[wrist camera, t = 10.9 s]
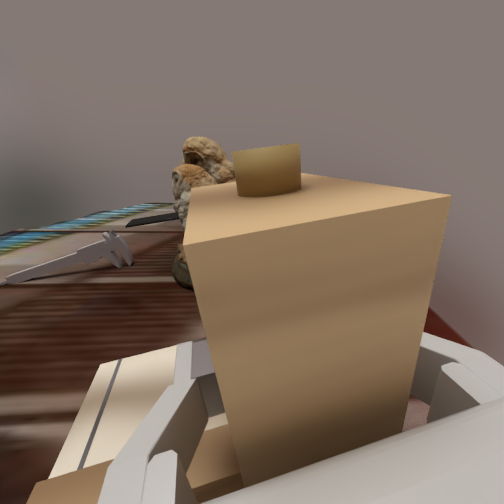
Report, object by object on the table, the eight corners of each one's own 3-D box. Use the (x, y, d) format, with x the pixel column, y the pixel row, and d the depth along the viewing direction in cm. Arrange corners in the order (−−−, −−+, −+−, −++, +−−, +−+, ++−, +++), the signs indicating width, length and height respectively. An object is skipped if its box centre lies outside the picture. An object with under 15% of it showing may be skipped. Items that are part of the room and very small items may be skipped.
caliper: (135, 264, 39) (122, 227, 36) (132, 266, 38) (119, 229, 35) (6, 283, 38) (-16, 247, 35) (0, 287, 37) (-23, 250, 34)
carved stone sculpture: (178, 247, 43) (151, 145, 36) (241, 236, 45) (227, 137, 38) (167, 302, 27) (116, 135, 20) (267, 280, 29) (251, 121, 22)
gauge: (376, 551, 9) (468, 119, 3) (8, 710, 7) (-1287, 347, 1) (306, 399, 14) (296, 143, 9) (91, 465, 12) (-98, 194, 7)
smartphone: (183, 216, 63) (124, 226, 61) (183, 219, 63) (125, 229, 62) (184, 211, 69) (131, 219, 67) (185, 213, 70) (132, 222, 68)
